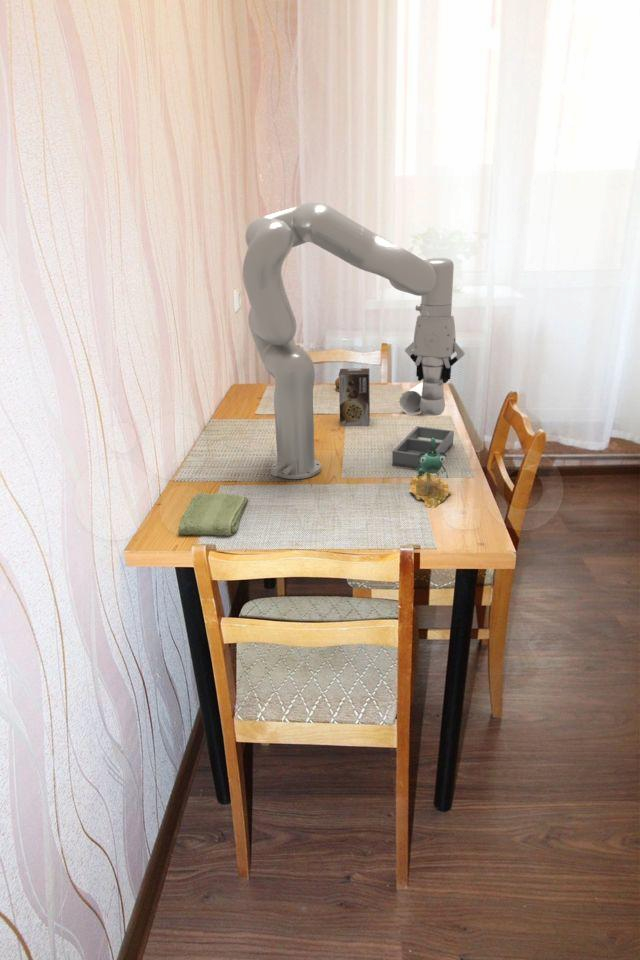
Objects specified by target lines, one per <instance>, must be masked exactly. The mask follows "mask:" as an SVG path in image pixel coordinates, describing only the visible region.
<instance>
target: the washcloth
mask: <svg viewBox="0 0 640 960" xmlns="http://www.w3.org/2000/svg"><path fill="white" fill-rule="evenodd" d="M190 501H191V502H189V505H188V506H187V508H186V510H185V511H184V514H182V517H180V521H179V524H178V530H177V531H178V533H179V534H180V535H183V536H184V535H185V536H187V535H189V536H190V535H193V536H203V535H210V536H211V535H213V536H221V537H222V536H223V537H230V536H232V535H234V534H235V533H236V532H237V531H238V529H239V523H240V520H241V517H242V514H243V512H244V509H245V506H246V504H247V502H249V498H248V497H247V496H245V495H241V494H229V493H223V492H216V493H206V492H199V493H196V494H195V496H194V497H192V498H191V500H190Z"/></svg>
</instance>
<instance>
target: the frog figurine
mask: <svg viewBox="0 0 640 960" xmlns="http://www.w3.org/2000/svg"><path fill="white" fill-rule="evenodd" d="M441 454H443V455H444V456H443V455H442V456H439V455H438V454H437V450H436V451H435V438H432V439H431V450H430V451H429V450H427V454H425V453H421V454H419V455H418V458H419V457H420V456H421V455H424V456H423V457H420V460H419V461H420V463H421V464H420V465H421V468H420V469H419V466H420V465H419V462H418V465H419V466H418V467H417V470H416V472H417V475H416V476H413V477H412V479H411V481H410V483H409V492H410V493H412V494H413V495H414V497H415V498H416V500H418V501H419V500H422V501H423V504H424V506H425V507H426V508H433V509H435V508H438V505H440V504H442V503H443V502H445V501H446V498H447V497H449V495H450V494H452V491H451V490H449V485H448V482H446V481H445V480H442V479H441V478H439V475H440V471H441V475H443V474H444V473H445V475H446V478H447V479H449V475H448V473H447V469H446V467H444V465H443V463H444V462H445V461H446V457H447V453H446V454H445V453H443V452H440V455H441ZM441 469H442V470H441ZM436 475H437V476H436Z"/></svg>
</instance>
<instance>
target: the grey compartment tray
mask: <svg viewBox="0 0 640 960" xmlns="http://www.w3.org/2000/svg"><path fill="white" fill-rule="evenodd" d="M454 435H455V430H450V429H444V428H443V429H442V428H436V427H427V426H418V425H416V426H415V427H414V428H413V429H412V431H410V432H409V434H408V435H407V436H405V437H404V439H403V440H402V441H401V442H400V443H399V444H397V446H396V447H395V448H394V449H393V450H392V454H391V455H392V456H391V457H392V461H391V465H392V467H398V468H399V467H400V468H403V469H410V470H416V471H417V467H418V466H419V465H420V464H421V463H420V461H419V460H420V457H423V456H424V455H421V456H420V457H419V458H418V455H419V454H421V453H425V454H427V450H429V451H430V450H431V439H432V438H435V451H436V450H437V454H438V455H439V456H442V455H443V454H441V455H440V452H443V453H445V454H446V455H447V453H448V452H449V451H450V449H452V447H453V445H454V438H455V437H454ZM443 456H444V455H443ZM444 457H445V456H444ZM418 462H419V465H418ZM420 468H421V465H420V466H419V469H420Z"/></svg>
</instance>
